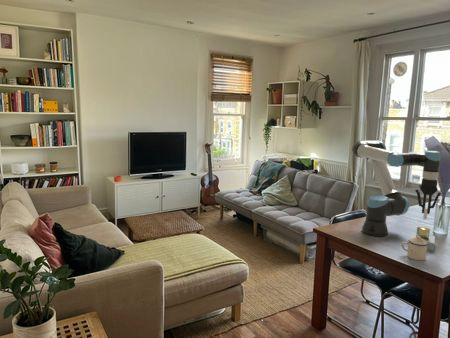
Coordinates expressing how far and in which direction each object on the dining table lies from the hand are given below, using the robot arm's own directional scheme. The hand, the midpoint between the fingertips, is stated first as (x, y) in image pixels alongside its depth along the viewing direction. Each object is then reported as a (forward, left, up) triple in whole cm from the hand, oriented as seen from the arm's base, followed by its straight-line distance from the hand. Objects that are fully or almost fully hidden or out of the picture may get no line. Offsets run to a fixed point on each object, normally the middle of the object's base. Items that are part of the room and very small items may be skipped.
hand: (425, 218), depth 192 cm
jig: (0, 0, -16) cm, 16 cm away
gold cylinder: (0, 0, -16) cm, 16 cm away
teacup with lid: (-15, -14, -16) cm, 26 cm away
